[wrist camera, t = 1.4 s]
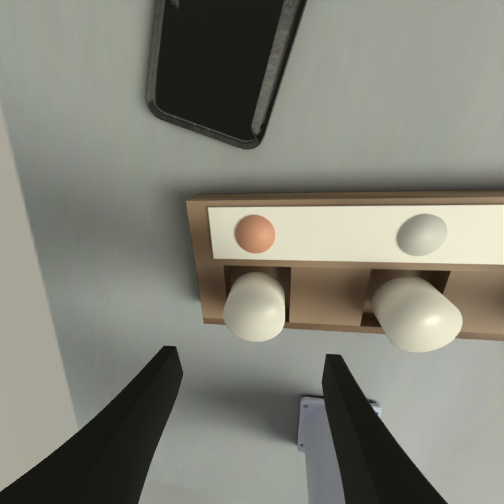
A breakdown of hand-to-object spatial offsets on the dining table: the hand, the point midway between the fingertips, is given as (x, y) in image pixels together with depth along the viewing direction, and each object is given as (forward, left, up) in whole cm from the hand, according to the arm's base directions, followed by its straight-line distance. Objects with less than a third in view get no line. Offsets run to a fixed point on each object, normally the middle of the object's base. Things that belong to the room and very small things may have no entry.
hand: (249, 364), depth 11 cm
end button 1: (0, 0, -6) cm, 6 cm away
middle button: (0, -10, -6) cm, 12 cm away
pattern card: (+4, -10, -6) cm, 12 cm away
